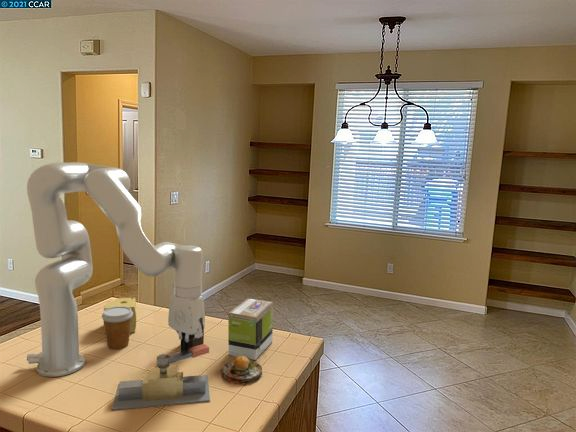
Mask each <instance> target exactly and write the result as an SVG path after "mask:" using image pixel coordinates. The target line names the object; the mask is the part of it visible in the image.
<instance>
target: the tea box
mask: <svg viewBox="0 0 576 432" xmlns="http://www.w3.org/2000/svg"><path fill="white" fill-rule="evenodd" d="M273 320H274V302H273V301H269V300H262V299H261V300H259V299H253V298H249V297H248V298H246V299H245V300H244V301H242V302H241V303H240V304H239V305H237V306H236V307H234V308H233V309H231V311H229V312H228V328H227V329H228V341H227V342H228V347H227V348H228V350H227V351H228V355H229V356H232V357H233V356H235V357H236V358H237V357H238V356H241V355H242V356H245V357H247V358H248V360H251V361H256V360H257V359H258V358H259V357H260V356H261V354H262V353H264V351H265V350H266V349H267V348H268V347H269V346H270V345H271V344H272V343H273V341H274V340H273V339H274V338H273V337H274V335H273V334H274V332H273V329H274V327H273V326H274V323H273V322H274V321H273Z"/></svg>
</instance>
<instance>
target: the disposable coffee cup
mask: <svg viewBox="0 0 576 432" xmlns="http://www.w3.org/2000/svg"><path fill="white" fill-rule="evenodd" d="M132 315H133V312H132V310H131V308H129V307H125V306H117V307H111V308H108V309H106V310H104V309H103V312H102V314H101V318H102V320H104V321H103V327H104V326H105V331H104V333H105V332H106V335H105V338H106V344H107V348H108V350H109V349H110V350H113V351H118V350H123V349H125V348H127V347H128V346H129V342H130V341H129V340H130V335H131V333H130V326H131V317H132Z"/></svg>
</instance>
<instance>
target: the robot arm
mask: <svg viewBox="0 0 576 432" xmlns="http://www.w3.org/2000/svg"><path fill="white" fill-rule="evenodd" d="M129 176H130V175H128V173H127V172H125V171H124V170H123V169H121V168H119V167H115V166H107V165H101V164H100V165H99V164H94V163H90V162H89V163H88V162H82V161H81V162H79V161H73V162H72V161H71V162H64V161H63V162H51V163H46V164H43V165H40V166H39V167H37V168H36V169H35V170H34V171H32V172H31V174H30V175H29V177H28V179H27V183H26V193H27V197H28V202H29V204H30V210H31V211H30V212H31V217H32V219H31V220H32V226H33V231H34V232H33V233H34V240H35V247H36V251H37V252H38V254H39V255H40V256H41V257H43V258H44V259H55V258H60V257H61V259H59V260H56V261H54V262H51V263H48V264H47V265H45V266H43V267H41V268H40V270H39V271H37V273H36V275H35V279H34V286H35V290H36V293H37V296H38V297H37V298H38V304H39V311H40V312H39V313H40V330H41V332H40V333H41V335H40V336H41V351H40V352H39V353H27V355H26V361H27V362H28V364H30V365H31V364H37V366H36V372H37V373H38V374H39V375H40V376H42V377H48V378H49V377H51V378H53V377H61V376H67V375H70V374H73V373H75V372H77V371H79V370H81V369H82V368H83V367H84V366H85V363H86V358H85V356H83V355H82V354H80V343H79V341H80V340H79V338H80V337H79V315H78V313H79V312H78V304H77V301H76V299H75V296H74V295H73V291H74V290H75V289H77V288H79V287H81V286H83V285H85V284H86V283H87V282H89V281H90V280H91V278H92V275H93V272H94V271H93V270H94V269H93V268H94V267H93V259H92V256H93V255H92V249H91V248H92V247H91V241H90V236H89V233H88V230H87V229H86V227H85V226H84V225H83V224H82V223H81V222H80V221H77V220H71V219H70V220H69V219H68V216H67V214H68V213H67V209H66V205H65V203H64V202H63V200H62V198H61V197H60V196H61V195H63V194H69V193H75V192H86V193H87V194H88V195H89V196H90V198H91V199H92V200H93V202H94V203H95V204H96V205H97V206H98V207H99V209H100V210H101V211H102V212H103V214H104V215H105V216H106V217H107V218H108V219H109V221H110V222H111V224H113V226H115V229H116V235H117V239H118V240H119V241H118V242H119V245H120V247H121V249H122V250H123V254H125V256H126V257H127V258H128V259H129V261H130V262H131V263H132V264H133V266H135V268H136V269H137V270H138V271H139V272H141V273H142V274H143V275H145V276H147V277H158V276H160V275H162V274H164V273H165V272H166V271H169V270H171V269H173V278H174V279H173V284H172V288H173V292H172V294H171V295H170V296H171V297H170V301H169V307H168V315H167V316H168V318H167V319H168V321H167V322H168V327H169V328H171V329H172V330H175V332H176V333H177V335H178V340H180V350H179V352H181V351H185V350H188V348H191V347H193V339H195V338H200V337H202V336H203V334H202V330H204V331H205V327H206V325H205V323H206V322H205V321H206V315H205V314H206V313H205V301H204V297H203V296H202V293H203V259H204V257H203V256H204V252H203V249H202V248H201V247H199V246H196V245H191V244H190V245H189V244H188V245H187V244H186V245H182V244H179V243H174V242H171V241H163V242H159V243H157V244H155V245H154V244H152V243H151V241H150V240H149V239H148V238H147V236H146V235H145V233H144V231H143V229H142V225H141V219H142V214H143V208H142V206H141V205H140V204H139V203H138V202H137V199H135V198H134V196H133V195H132V194H131V193H130V192H129V190H130V189H131V179H130V177H129Z"/></svg>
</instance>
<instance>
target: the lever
mask: <svg viewBox="0 0 576 432" xmlns="http://www.w3.org/2000/svg"><path fill="white" fill-rule="evenodd" d="M206 354H210V347H209V346H208V345H207V344H205V343H203V344H202V345H198V346H195V347H191V348H188V350H185V351H181V352H180V351H178V352H175V353H170V354H166V353H162V354H159V355H158V356H156V368H157V367H158V368H161V369H163V368H167V367H171V366H170V364H174V363H176V362H177V363H178V362H180V361H183V360H186V359H190V358H196V357H199V356H204V355H206Z"/></svg>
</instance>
